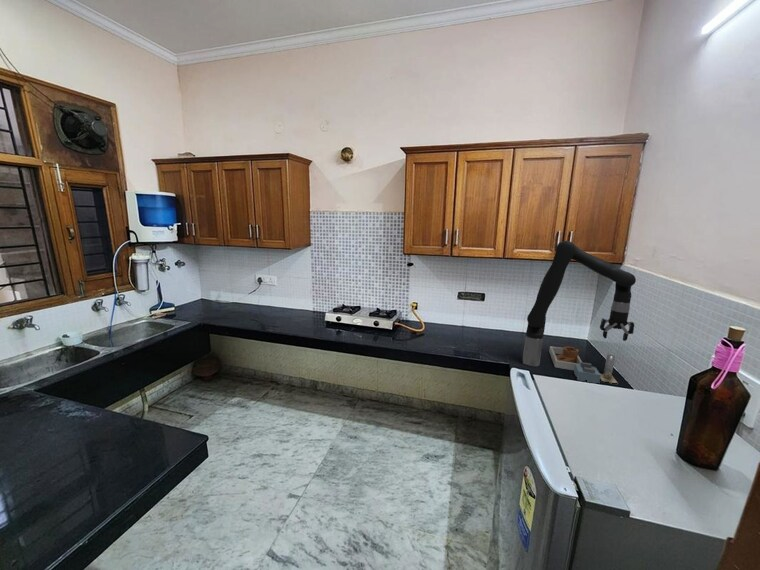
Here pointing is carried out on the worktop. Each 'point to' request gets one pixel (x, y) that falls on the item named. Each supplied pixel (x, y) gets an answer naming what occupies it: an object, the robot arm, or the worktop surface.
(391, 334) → the worktop surface
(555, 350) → the frame
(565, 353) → the bracket
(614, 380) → the rest board
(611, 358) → the steel pin
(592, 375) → the vise block
